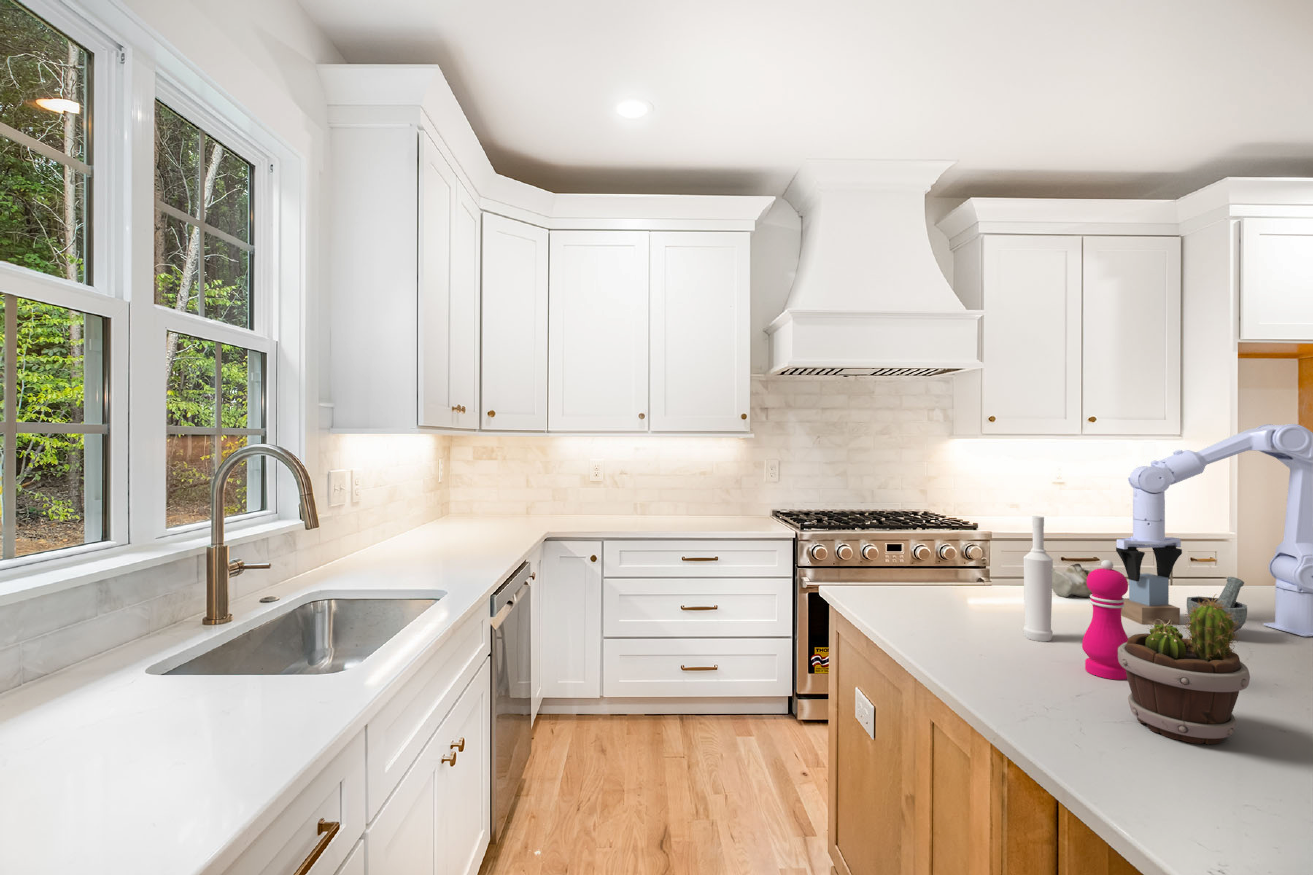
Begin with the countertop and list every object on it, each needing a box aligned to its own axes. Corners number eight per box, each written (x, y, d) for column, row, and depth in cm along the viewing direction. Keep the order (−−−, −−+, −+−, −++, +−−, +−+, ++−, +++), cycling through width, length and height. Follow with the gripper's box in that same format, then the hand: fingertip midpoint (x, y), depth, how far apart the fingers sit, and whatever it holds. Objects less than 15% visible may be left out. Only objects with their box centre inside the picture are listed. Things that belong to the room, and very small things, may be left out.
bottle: (1044, 634, 134) (1045, 515, 133) (1057, 642, 128) (1058, 518, 128) (1018, 633, 134) (1019, 514, 134) (1030, 641, 129) (1031, 518, 129)
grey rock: (1038, 558, 169) (1093, 560, 170) (1036, 590, 169) (1091, 593, 170) (1066, 567, 159) (1124, 570, 159) (1063, 601, 159) (1121, 604, 159)
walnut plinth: (1153, 615, 148) (1153, 598, 148) (1179, 626, 140) (1179, 608, 140) (1117, 615, 148) (1117, 598, 148) (1141, 625, 140) (1142, 607, 140)
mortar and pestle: (1221, 644, 127) (1222, 584, 127) (1174, 630, 136) (1174, 574, 136) (1265, 640, 129) (1266, 581, 129) (1216, 626, 138) (1216, 571, 138)
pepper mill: (1140, 682, 108) (1141, 565, 108) (1093, 679, 109) (1093, 563, 109) (1119, 667, 115) (1119, 556, 115) (1074, 664, 116) (1075, 555, 116)
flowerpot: (1110, 731, 91) (1110, 591, 90) (1124, 697, 102) (1125, 573, 102) (1249, 767, 81) (1250, 610, 81) (1248, 726, 92) (1249, 588, 92)
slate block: (1147, 599, 147) (1147, 573, 147) (1168, 604, 142) (1168, 578, 142) (1129, 600, 146) (1129, 574, 146) (1149, 605, 141) (1149, 578, 141)
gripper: (1160, 516, 149) (1160, 574, 149) (1105, 517, 147) (1105, 576, 147) (1189, 520, 142) (1189, 581, 142) (1132, 522, 140) (1132, 584, 140)
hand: (1148, 579), depth 144 cm, fingers open, 7 cm apart
